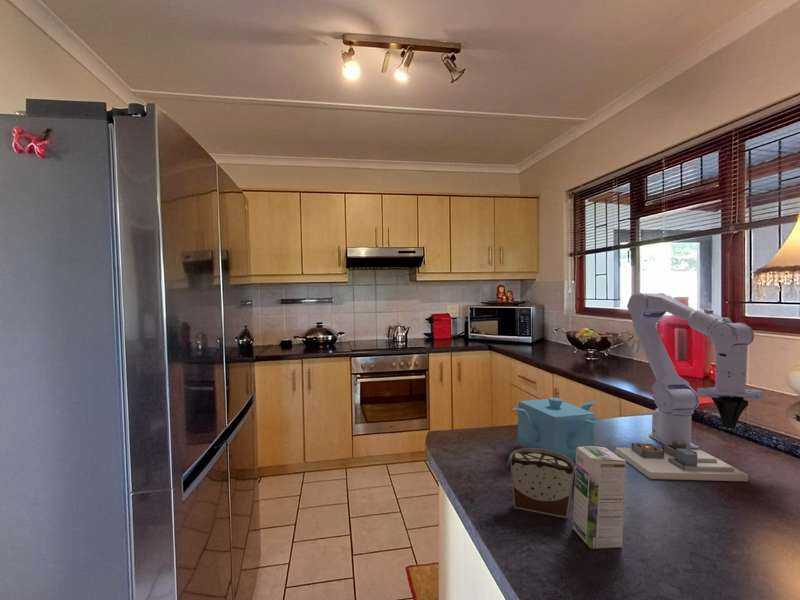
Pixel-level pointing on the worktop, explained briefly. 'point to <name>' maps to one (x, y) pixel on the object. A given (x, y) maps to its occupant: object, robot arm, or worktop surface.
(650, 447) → the copper button
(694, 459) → the block
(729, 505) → the worktop surface
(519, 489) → the food container
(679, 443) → the black button
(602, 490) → the syrup box
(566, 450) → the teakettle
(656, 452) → the control panel
